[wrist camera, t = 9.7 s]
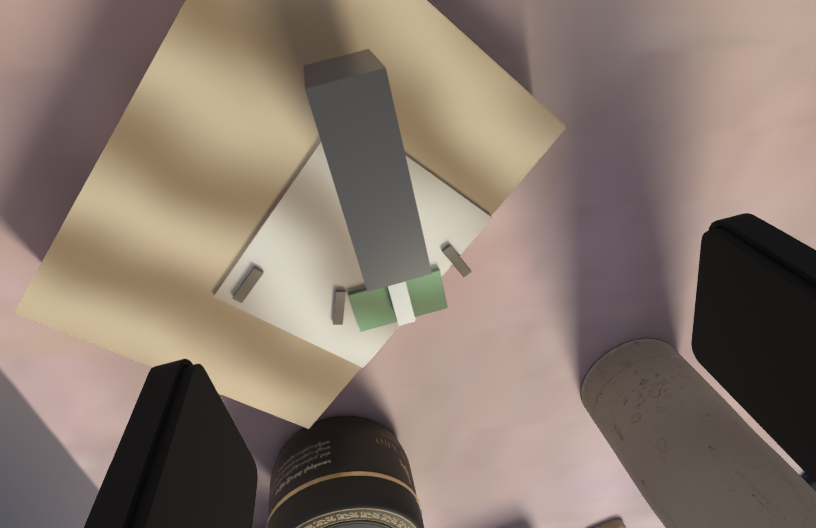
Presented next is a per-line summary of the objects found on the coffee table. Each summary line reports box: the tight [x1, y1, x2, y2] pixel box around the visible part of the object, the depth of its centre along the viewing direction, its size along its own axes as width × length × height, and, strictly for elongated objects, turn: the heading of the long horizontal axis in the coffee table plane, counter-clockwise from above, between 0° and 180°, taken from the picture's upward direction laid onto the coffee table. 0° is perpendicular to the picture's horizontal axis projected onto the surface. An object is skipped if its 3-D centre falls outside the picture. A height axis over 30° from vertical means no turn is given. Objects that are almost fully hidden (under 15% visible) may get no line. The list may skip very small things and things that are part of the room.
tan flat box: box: [14, 0, 567, 429], centre depth 26 cm, size 22×17×4 cm
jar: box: [266, 417, 424, 528], centre depth 35 cm, size 10×10×8 cm
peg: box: [304, 49, 432, 326], centre depth 21 cm, size 13×2×7 cm, turn 12°
